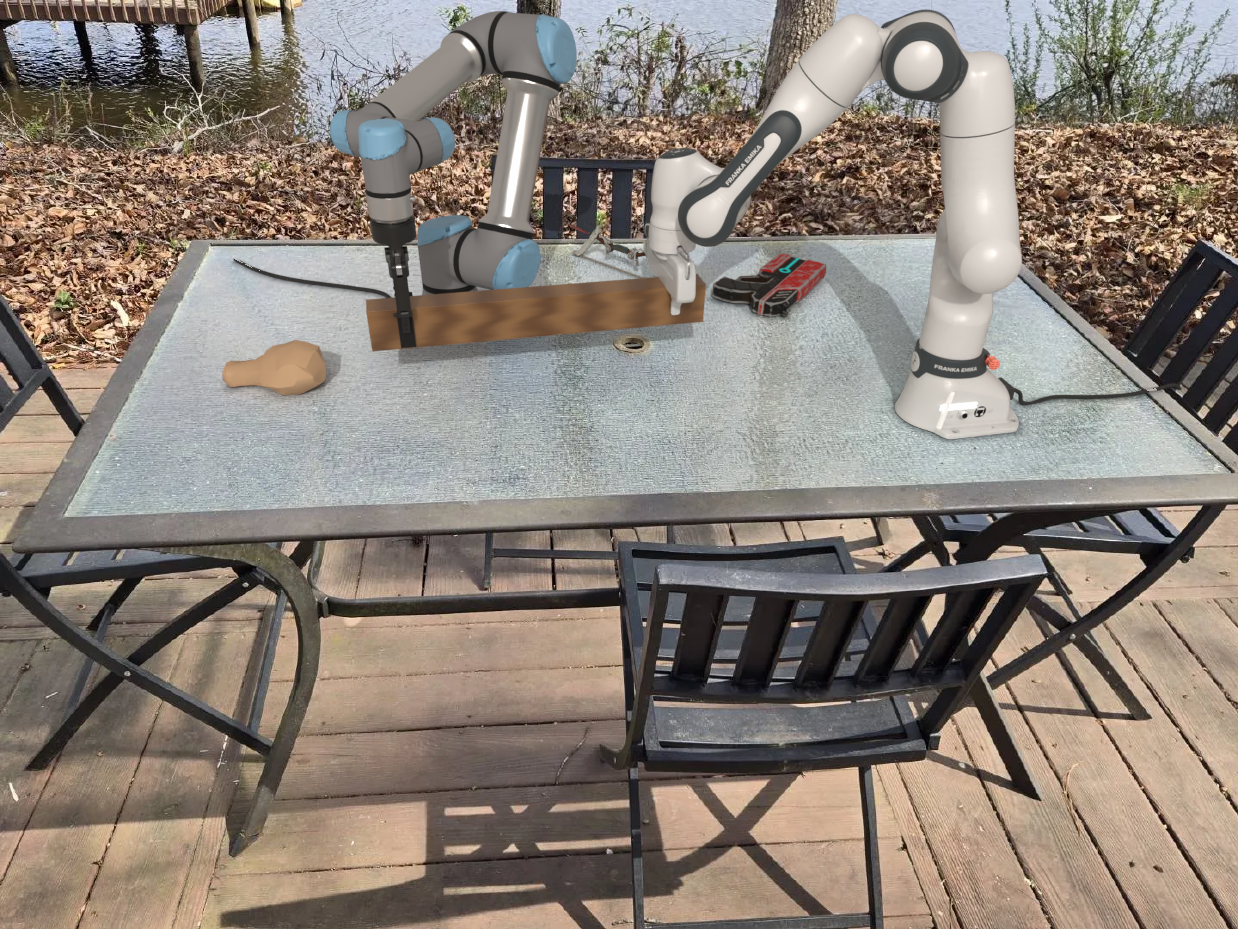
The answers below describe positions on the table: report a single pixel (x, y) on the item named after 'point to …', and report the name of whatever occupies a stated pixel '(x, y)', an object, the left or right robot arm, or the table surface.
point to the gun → (772, 285)
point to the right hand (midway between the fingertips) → (669, 306)
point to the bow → (609, 246)
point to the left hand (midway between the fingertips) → (407, 338)
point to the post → (531, 312)
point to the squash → (280, 369)
